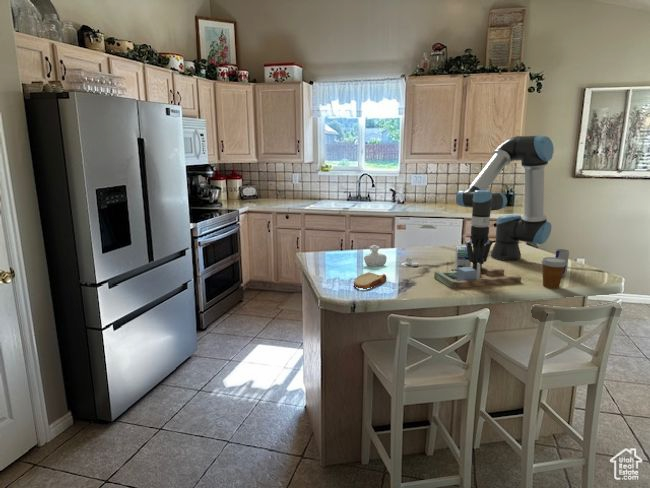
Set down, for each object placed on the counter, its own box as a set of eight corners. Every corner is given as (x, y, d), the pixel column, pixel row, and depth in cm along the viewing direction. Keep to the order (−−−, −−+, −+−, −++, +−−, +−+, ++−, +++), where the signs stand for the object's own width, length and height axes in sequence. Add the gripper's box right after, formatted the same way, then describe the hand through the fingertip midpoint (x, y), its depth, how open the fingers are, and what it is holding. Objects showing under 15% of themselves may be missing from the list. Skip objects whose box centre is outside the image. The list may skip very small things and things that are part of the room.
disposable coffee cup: (540, 288, 186) (543, 261, 184) (537, 282, 195) (540, 256, 192) (565, 291, 183) (568, 263, 180) (561, 284, 192) (564, 257, 189)
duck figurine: (385, 268, 226) (382, 248, 230) (389, 262, 219) (385, 242, 223) (363, 269, 224) (360, 249, 228) (366, 264, 217) (363, 243, 221)
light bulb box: (470, 271, 211) (472, 250, 209) (456, 271, 213) (457, 249, 210) (468, 265, 222) (469, 245, 219) (454, 265, 223) (455, 244, 220)
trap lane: (494, 270, 213) (495, 264, 212) (520, 282, 195) (521, 276, 194) (431, 275, 205) (431, 269, 204) (452, 288, 187) (452, 281, 186)
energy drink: (550, 274, 206) (553, 249, 204) (558, 273, 209) (561, 248, 206) (560, 277, 202) (563, 252, 199) (568, 276, 204) (572, 251, 201)
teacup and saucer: (420, 267, 220) (420, 259, 220) (405, 268, 219) (405, 260, 218) (414, 262, 229) (414, 255, 228) (399, 263, 228) (399, 256, 227)
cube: (468, 279, 199) (469, 266, 198) (475, 283, 194) (476, 270, 192) (456, 280, 198) (457, 267, 196) (463, 284, 192) (464, 271, 191)
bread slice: (358, 292, 184) (358, 283, 183) (345, 279, 201) (345, 271, 200) (397, 288, 189) (397, 280, 188) (381, 276, 206) (382, 268, 205)
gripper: (471, 227, 186) (468, 280, 191) (498, 226, 189) (494, 278, 194) (462, 224, 193) (458, 275, 198) (488, 223, 196) (484, 273, 202)
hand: (476, 277), depth 196 cm, fingers closed
